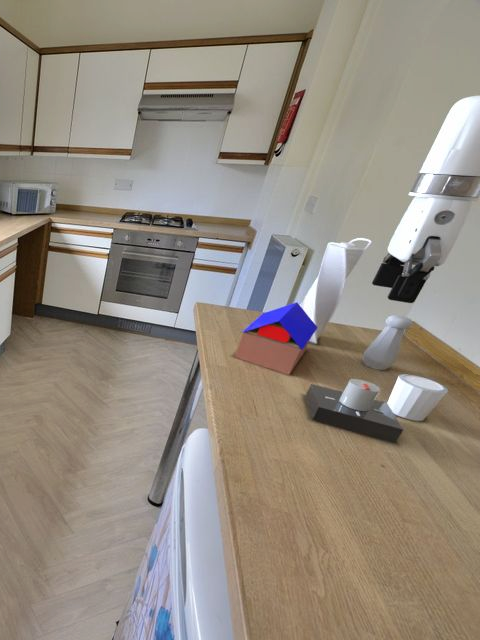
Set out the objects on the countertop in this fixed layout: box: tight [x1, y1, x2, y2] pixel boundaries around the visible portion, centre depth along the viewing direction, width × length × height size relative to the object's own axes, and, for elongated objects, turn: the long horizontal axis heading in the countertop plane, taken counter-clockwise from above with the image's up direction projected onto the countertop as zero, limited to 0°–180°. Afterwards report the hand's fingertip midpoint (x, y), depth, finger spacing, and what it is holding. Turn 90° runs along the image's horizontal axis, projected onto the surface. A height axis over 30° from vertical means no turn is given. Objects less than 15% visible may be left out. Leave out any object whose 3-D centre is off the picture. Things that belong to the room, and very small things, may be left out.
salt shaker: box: [362, 314, 414, 371], centre depth 97 cm, size 6×6×13 cm
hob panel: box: [305, 383, 404, 444], centre depth 79 cm, size 12×10×3 cm
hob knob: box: [339, 378, 381, 411], centre depth 77 cm, size 4×4×5 cm
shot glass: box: [386, 373, 449, 422], centre depth 80 cm, size 7×7×7 cm
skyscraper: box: [299, 237, 373, 345], centre depth 108 cm, size 8×8×28 cm
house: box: [234, 301, 318, 376], centre depth 101 cm, size 12×20×12 cm, turn 134°
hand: (390, 293), depth 71 cm, fingers open, 9 cm apart
